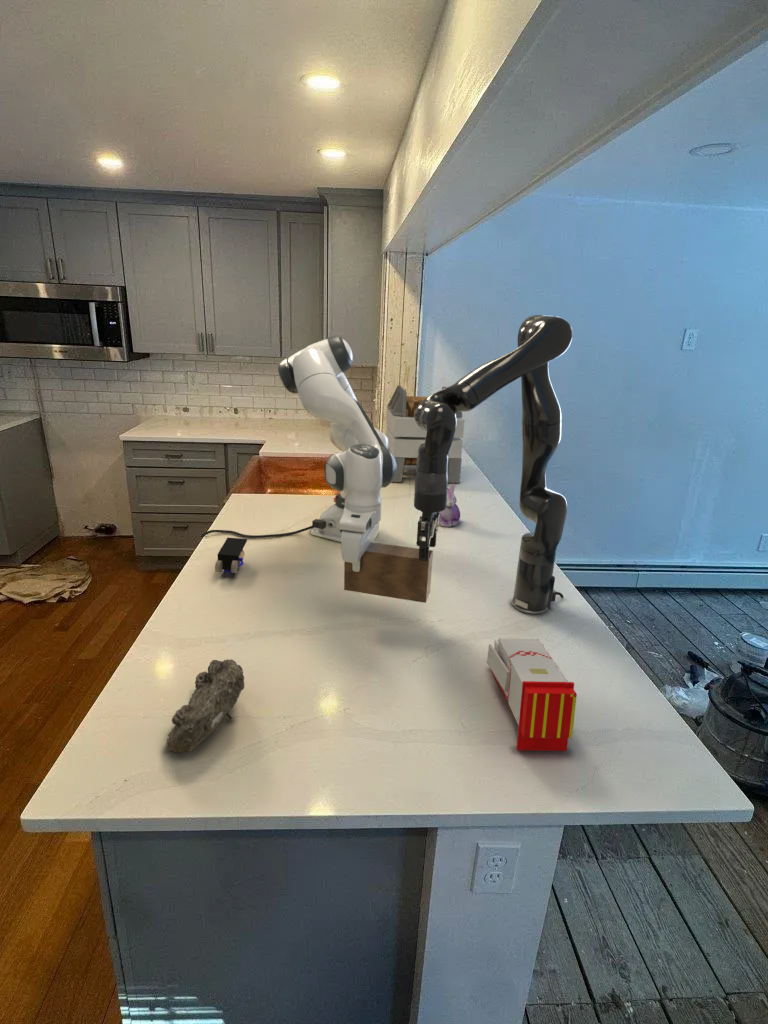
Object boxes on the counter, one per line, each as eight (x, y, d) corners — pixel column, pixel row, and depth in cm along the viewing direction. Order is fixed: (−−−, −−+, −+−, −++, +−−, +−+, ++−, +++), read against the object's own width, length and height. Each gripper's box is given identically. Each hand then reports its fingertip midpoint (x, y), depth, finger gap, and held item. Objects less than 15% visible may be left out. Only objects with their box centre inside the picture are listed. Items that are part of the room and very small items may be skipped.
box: (343, 590, 142) (344, 548, 138) (351, 580, 147) (351, 539, 143) (425, 603, 137) (428, 560, 133) (430, 592, 143) (433, 550, 139)
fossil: (192, 660, 117) (244, 628, 112) (224, 691, 120) (276, 661, 115) (142, 746, 98) (202, 712, 93) (182, 779, 101) (242, 748, 96)
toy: (536, 621, 128) (586, 689, 98) (531, 676, 131) (578, 758, 101) (482, 620, 127) (517, 688, 98) (478, 675, 130) (511, 757, 101)
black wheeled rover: (238, 584, 162) (249, 557, 175) (236, 562, 158) (247, 536, 172) (215, 584, 161) (227, 556, 175) (212, 561, 158) (225, 535, 171)
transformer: (382, 463, 289) (386, 382, 275) (445, 464, 293) (451, 384, 279) (390, 482, 257) (394, 392, 243) (460, 483, 261) (468, 394, 247)
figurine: (445, 529, 206) (449, 489, 200) (430, 519, 214) (433, 481, 209) (467, 525, 210) (470, 487, 205) (451, 516, 218) (454, 479, 213)
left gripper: (362, 498, 147) (360, 546, 152) (336, 525, 128) (335, 579, 133) (386, 501, 146) (383, 550, 150) (363, 528, 127) (361, 584, 132)
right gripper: (441, 499, 122) (436, 567, 128) (452, 481, 135) (448, 543, 141) (407, 496, 124) (404, 563, 130) (421, 478, 137) (418, 539, 143)
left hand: (361, 564), depth 142 cm, fingers closed on box, 6 cm apart
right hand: (427, 553), depth 135 cm, fingers open, 8 cm apart
